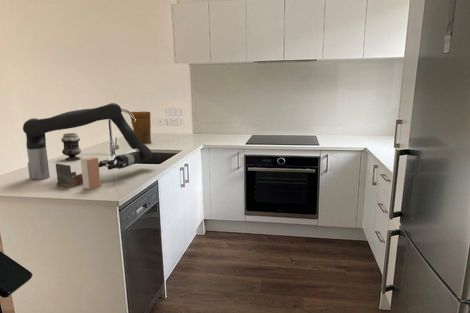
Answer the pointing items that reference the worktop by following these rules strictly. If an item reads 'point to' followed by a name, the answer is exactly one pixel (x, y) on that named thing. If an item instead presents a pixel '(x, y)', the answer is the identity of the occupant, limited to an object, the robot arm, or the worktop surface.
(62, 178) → the rack
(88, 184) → the salmon pink rectangular block
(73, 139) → the dark grey pedestal urn
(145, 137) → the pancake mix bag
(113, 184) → the worktop surface
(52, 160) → the worktop surface
